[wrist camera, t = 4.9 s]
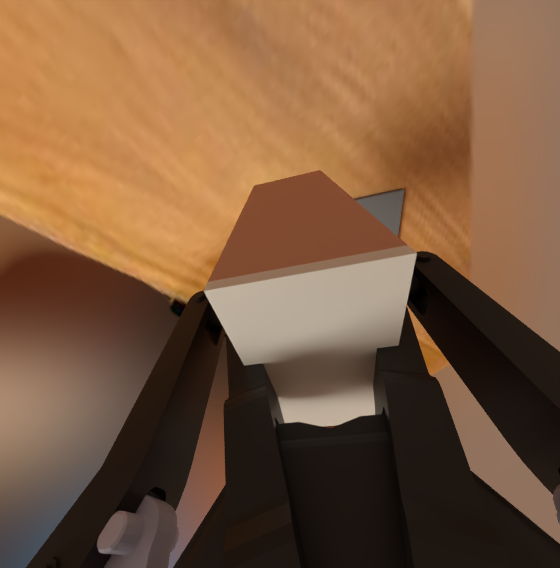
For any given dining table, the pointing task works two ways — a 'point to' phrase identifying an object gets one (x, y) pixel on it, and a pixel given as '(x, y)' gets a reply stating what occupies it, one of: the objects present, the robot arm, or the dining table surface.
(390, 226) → the mat
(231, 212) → the dining table surface
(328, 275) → the block
